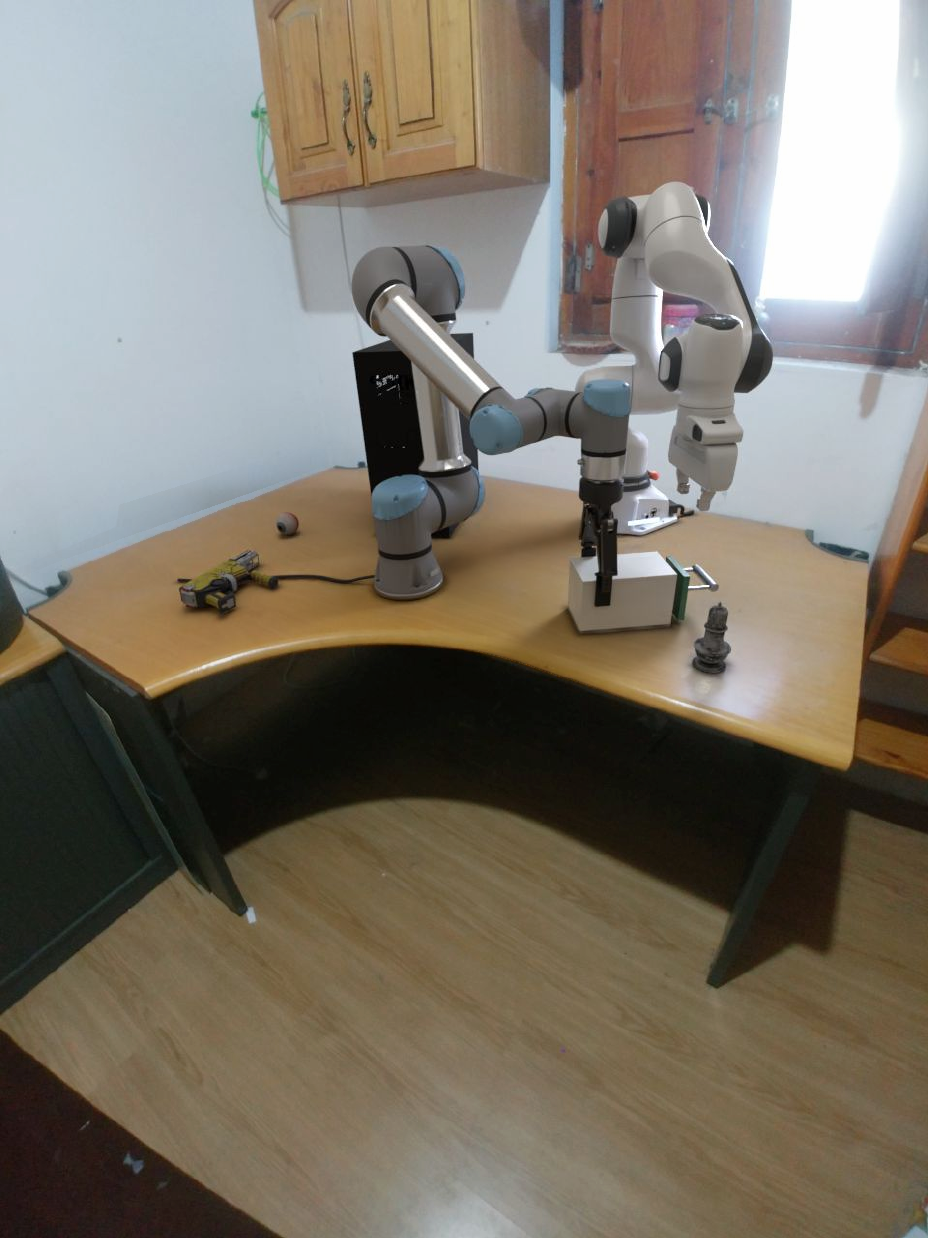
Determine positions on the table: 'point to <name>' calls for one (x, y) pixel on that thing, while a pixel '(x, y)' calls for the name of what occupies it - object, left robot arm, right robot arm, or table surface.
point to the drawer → (687, 585)
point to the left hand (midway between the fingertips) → (594, 591)
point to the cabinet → (623, 594)
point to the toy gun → (223, 583)
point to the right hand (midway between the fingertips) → (692, 500)
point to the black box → (397, 414)
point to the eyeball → (287, 523)
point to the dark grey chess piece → (713, 642)
